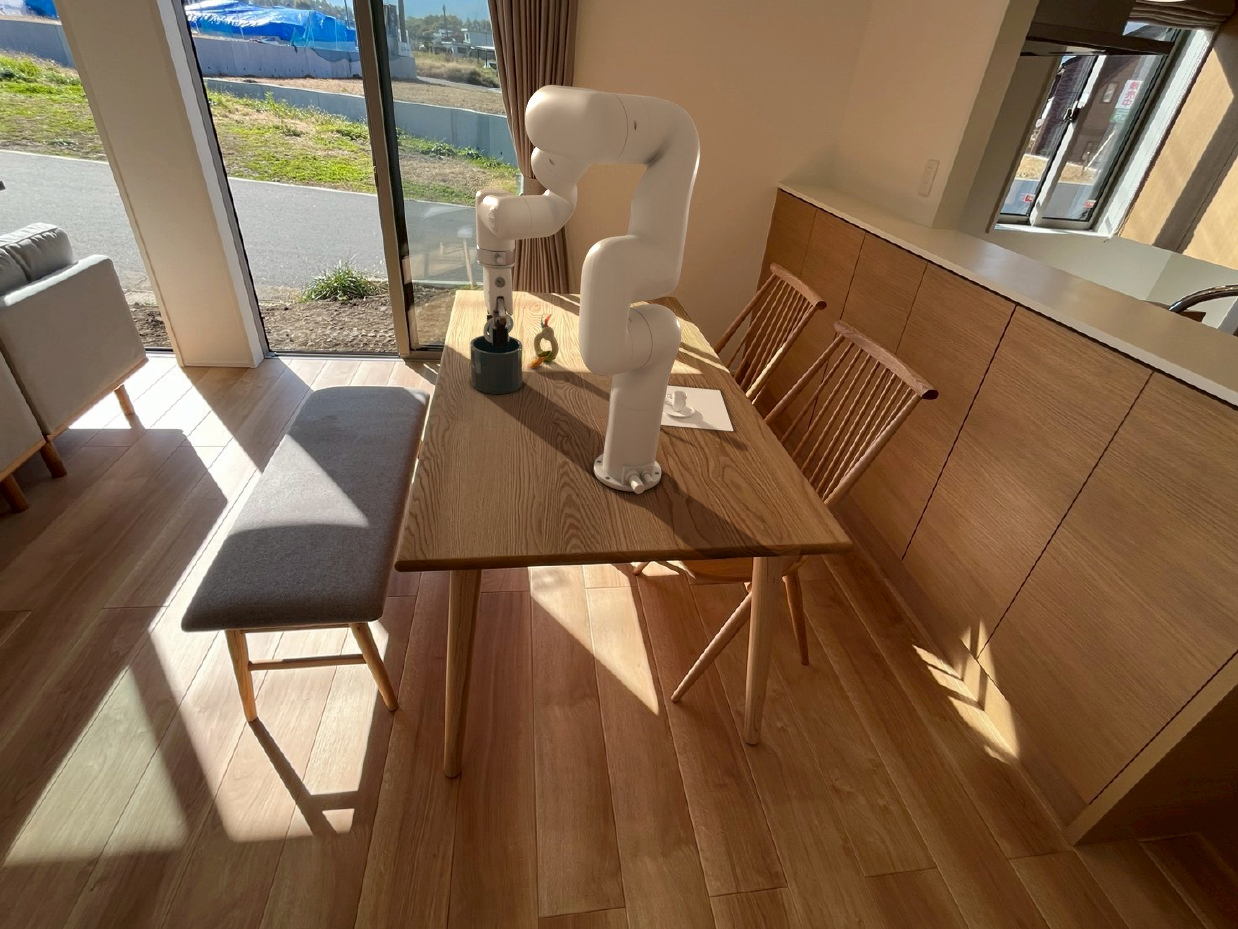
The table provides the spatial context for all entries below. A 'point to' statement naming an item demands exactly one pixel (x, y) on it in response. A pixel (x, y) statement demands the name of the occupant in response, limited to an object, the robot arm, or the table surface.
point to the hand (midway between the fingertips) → (497, 338)
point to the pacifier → (490, 322)
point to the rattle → (542, 355)
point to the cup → (496, 366)
